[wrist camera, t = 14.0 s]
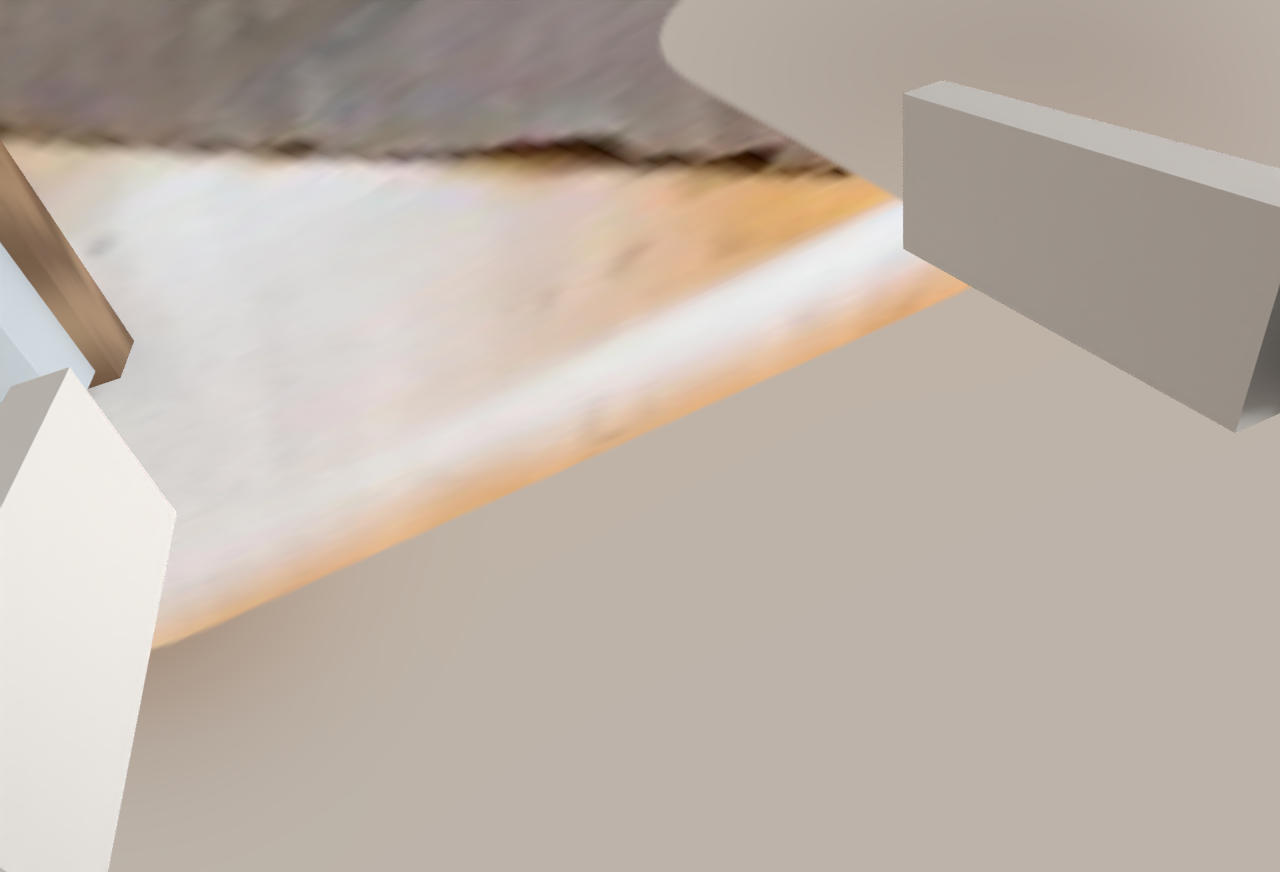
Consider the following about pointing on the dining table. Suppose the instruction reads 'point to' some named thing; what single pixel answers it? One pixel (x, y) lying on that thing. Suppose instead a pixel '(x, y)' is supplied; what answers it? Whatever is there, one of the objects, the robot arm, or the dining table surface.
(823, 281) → the dining table surface
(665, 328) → the dining table surface
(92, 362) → the bottom block
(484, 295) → the dining table surface
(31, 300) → the top block
